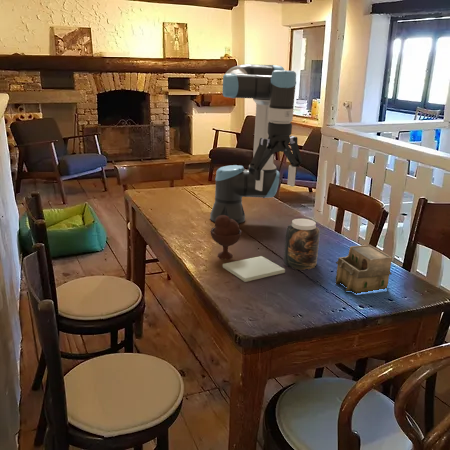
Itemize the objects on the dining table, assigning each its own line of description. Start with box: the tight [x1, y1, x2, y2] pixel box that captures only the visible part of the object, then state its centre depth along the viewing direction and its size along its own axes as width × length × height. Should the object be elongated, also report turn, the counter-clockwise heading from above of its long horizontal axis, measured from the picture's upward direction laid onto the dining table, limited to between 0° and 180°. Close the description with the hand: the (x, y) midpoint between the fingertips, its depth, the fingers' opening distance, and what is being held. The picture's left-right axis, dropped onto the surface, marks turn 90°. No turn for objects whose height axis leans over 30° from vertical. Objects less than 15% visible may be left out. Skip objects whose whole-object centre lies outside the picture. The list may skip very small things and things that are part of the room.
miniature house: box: [334, 244, 393, 294], centre depth 155 cm, size 15×14×11 cm
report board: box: [222, 255, 286, 283], centre depth 164 cm, size 16×13×1 cm
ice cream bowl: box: [210, 215, 243, 260], centre depth 173 cm, size 11×11×15 cm
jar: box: [283, 218, 321, 271], centre depth 169 cm, size 12×12×15 cm
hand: (275, 187), depth 162 cm, fingers open, 13 cm apart
